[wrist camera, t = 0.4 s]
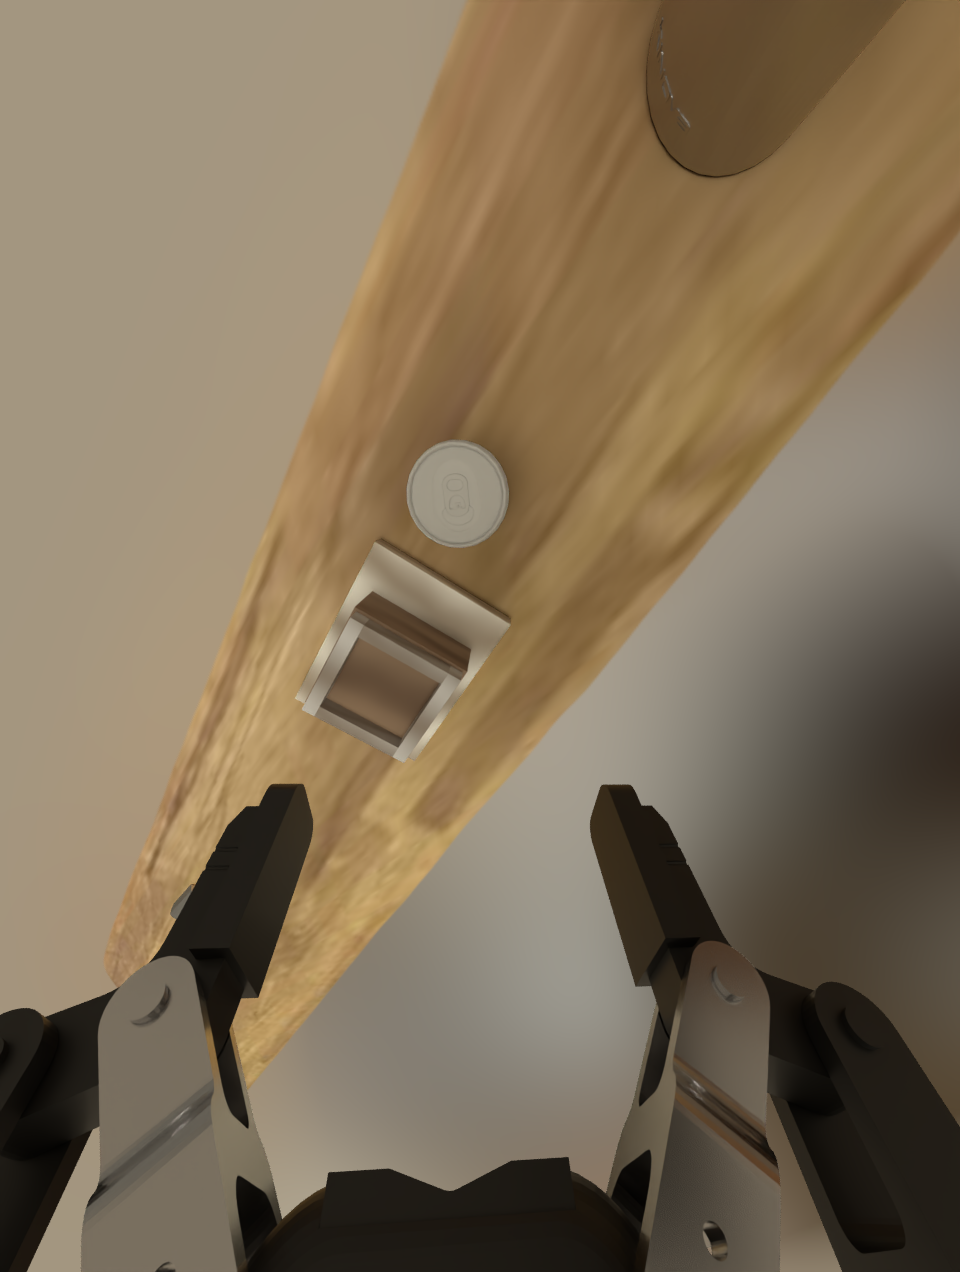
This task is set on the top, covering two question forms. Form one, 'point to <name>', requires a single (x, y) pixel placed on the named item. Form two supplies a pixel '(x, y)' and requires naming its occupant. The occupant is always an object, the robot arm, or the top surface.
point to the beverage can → (457, 493)
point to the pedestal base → (399, 654)
